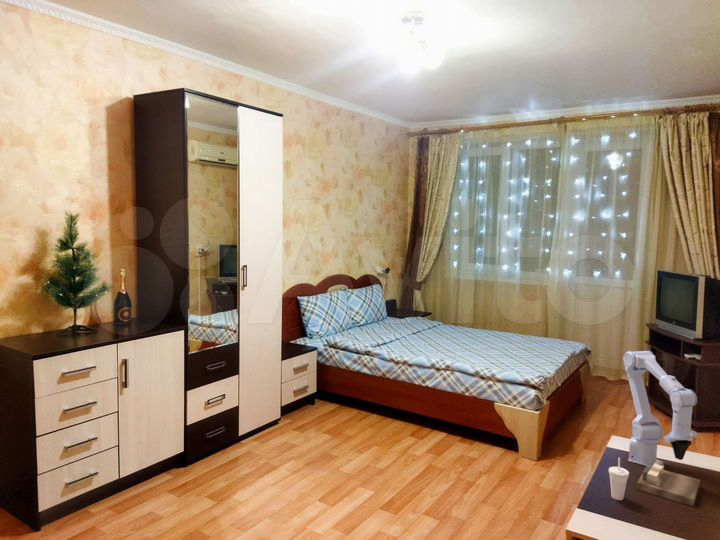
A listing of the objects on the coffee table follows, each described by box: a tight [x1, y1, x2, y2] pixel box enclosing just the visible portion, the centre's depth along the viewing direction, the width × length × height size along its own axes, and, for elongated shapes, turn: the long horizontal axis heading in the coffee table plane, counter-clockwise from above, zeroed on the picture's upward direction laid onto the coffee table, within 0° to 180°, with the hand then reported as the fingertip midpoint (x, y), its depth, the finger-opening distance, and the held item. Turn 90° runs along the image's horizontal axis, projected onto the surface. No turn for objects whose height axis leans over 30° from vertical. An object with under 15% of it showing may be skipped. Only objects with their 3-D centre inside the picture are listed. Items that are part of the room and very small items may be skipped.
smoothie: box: [608, 457, 630, 501], centre depth 177 cm, size 6×6×14 cm
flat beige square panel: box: [636, 465, 701, 507], centre depth 184 cm, size 17×17×6 cm
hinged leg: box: [647, 459, 665, 485], centre depth 187 cm, size 13×3×4 cm, turn 138°
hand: (678, 458), depth 187 cm, fingers closed
